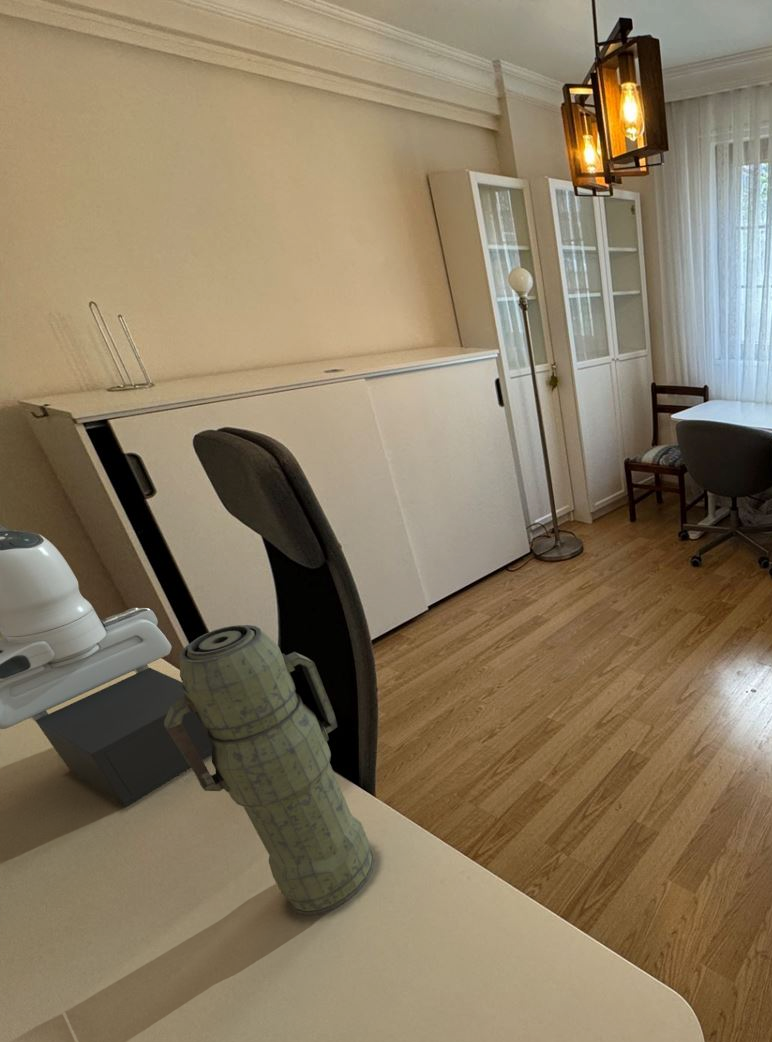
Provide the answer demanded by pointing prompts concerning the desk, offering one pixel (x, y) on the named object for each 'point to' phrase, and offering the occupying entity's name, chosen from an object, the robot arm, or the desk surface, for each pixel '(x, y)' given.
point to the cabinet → (125, 736)
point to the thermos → (273, 762)
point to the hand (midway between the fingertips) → (104, 709)
